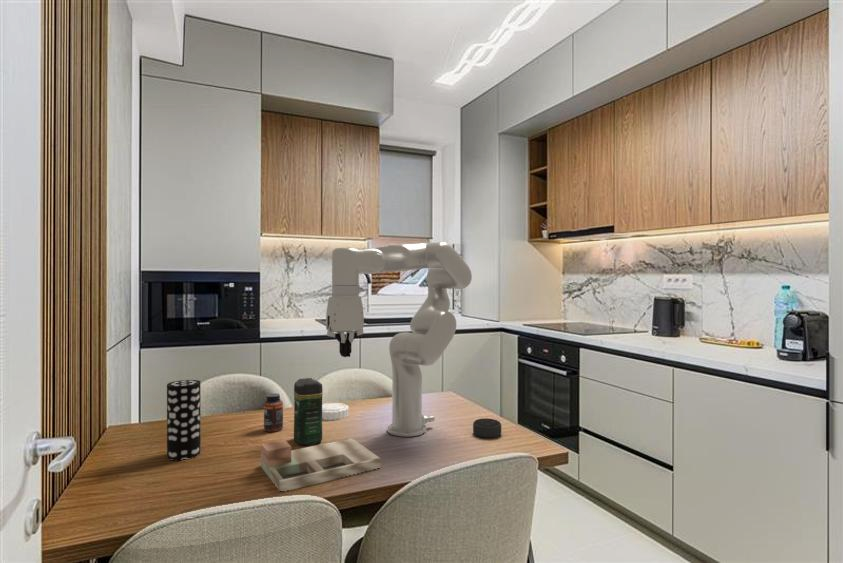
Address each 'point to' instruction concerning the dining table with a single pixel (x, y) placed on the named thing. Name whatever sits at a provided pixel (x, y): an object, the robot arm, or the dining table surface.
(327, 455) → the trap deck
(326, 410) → the mooncake
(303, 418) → the coffee jar
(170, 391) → the white-spotted black cylinder
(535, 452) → the dining table surface
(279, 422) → the supplement bottle
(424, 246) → the robot arm
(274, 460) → the block
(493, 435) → the smart speaker
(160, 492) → the dining table surface
